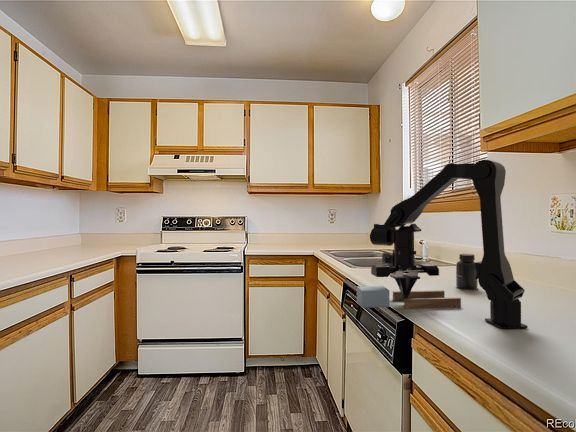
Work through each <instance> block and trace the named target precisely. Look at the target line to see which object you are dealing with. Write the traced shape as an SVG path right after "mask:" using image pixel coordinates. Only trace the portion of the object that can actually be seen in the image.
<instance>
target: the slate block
mask: <svg viewBox="0 0 576 432" xmlns="http://www.w3.org/2000/svg"><path fill="white" fill-rule="evenodd" d="M356 303H357V304H358V305H359V307H361V308H362V309H364V308H367V309H368V308H390V290H389V289H388V288H387V287H386V286H383V285H367V286H365V285H364V286H358V285H357V286H356Z"/></svg>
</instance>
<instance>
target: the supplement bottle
mask: <svg viewBox="0 0 576 432" xmlns="http://www.w3.org/2000/svg"><path fill="white" fill-rule="evenodd" d="M458 259H459V261H456V266H455V268H456V270H455V271H456V273H455V283H456V285H455V286H456V287H457V288H458V289H462V290H469V291H471V290H476V289H478V285H479V282H478V279H475V278H476V273H477V272H476V268H475V263H476V262H475V254H472V253H459V257H458Z"/></svg>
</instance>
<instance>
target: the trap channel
mask: <svg viewBox="0 0 576 432" xmlns="http://www.w3.org/2000/svg"><path fill="white" fill-rule="evenodd" d="M445 293H446V291H444V290H441V289H440V290H411V292H410V294H409V296H408V298H407V299H403V297H402V295H401V292H400V290H397V291H395V290H394V291H392V300H393V301H403V303H404V306H403V307H404V308H405V309H436V308H438V309H439V308H442V309H443V308H444V309H445V308H461V307H462V298H460V297H453V296H452V297H445V295H446V294H445Z"/></svg>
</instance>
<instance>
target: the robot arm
mask: <svg viewBox="0 0 576 432" xmlns="http://www.w3.org/2000/svg"><path fill="white" fill-rule="evenodd" d="M460 179H461V180H462V179H463V180H472V182H473V187H474V189H475V191H476V194H477V195H478V197H479V206H480V207H479V208H480V219H481V220H480V221H481V234H482V247H483V248H482V249H483V256H482V259H481V260H479V261H476V262H475V268H476V272H477V273H476V278H475V279H478V285H479V287H480V288H482V289H483V290H484V292H485V294H486V297H487V299H488V301H490V302H489V303H490V307H489V308H490V318H489V317H488V318H484V321H485V322H487V323H490V324H491V325H493V326H495V327H497V328H499V329H503V330H506V329H528V325H527V324H525V323H522V301H520V299H521V298H522V297H523V296H524V293H525V291H526V290H525V288H524V287H523V286H521V285H520V284H519V282H517V281H516V280H515V279H514V274H513V271H512V268H511V264H510V261H509V260H508V258H507V256H506V253H505V242H504V230H503V229H504V226H503V213H502V212H503V211H502V202H501V201H502V200H501V197H502V193H503V189H504V186H505V181H506V168H505V166H504V165H503V164H502V163H500V162H497V161H494V160H490V159H480V160H478V161H477V162H475V163H453V162H451V163H447V164H446V165H444V167H443V168H442V169H441V170H440V171H439V172H438V173H436V175H434V176H433V177H432V178H431V179H430V180H429V181H428V182H427V183H426V184H425V185H423V186H422V187H421V188H420V189H419V190H418V191H417V192H415V193H414V194H413V195H412V196H409V197H408V198H406V199H403V200H402V201H400V202H399V203H397V204H395V205H393V206H392V207H391V209H390V214H389V215H388V218H386V221H384V224H383V223H373V228H372V229H371V231H370V233H369V239H370V242H371V244H372V245H374V246H385V247H386V246H387V247H390V246H393V248H394V249H392V254H390V253H387V252H385V253H382V254H381V255H382V256H381V262H382V264H373V265H372V266H371V268H370V274H371V275H372V276H374V277H376V278H389V277H390V278H392V279H394V280H395V282H396V284H397V286H398V289H399V291H400V292H401V295H402V297H403V299H407V298H408V296H409V294H410V292H411V291H412V289H413V287H414V286H415V284H416V282H417V281H418V280H420V279H421V277H420V276H419V274H424V273H425V274H427V275H428V276H430V277H433V276H434V277H436V276H440V269H439V267H438V265H436V264H432V263H418V264H415V256H416V255H417V250H415V233H418V232H419V233H420V232H422V229H421V228H420V227H419V226H418V225H417V224H416V223H414V222H416V221H417V219H418V218H419V217H420V216H421V215H422V213H423V211H424V209H425V207H427V205H429V203H431V202H433V200H435V199H436V198H437V197H438V196H439V195H441V193H443V192H444V191H445V190H447V188H449V187H450V186H451V185H453V183H455V182H456V181H457V180H460ZM409 224H410V225H409ZM396 228H397V229H396Z"/></svg>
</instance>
